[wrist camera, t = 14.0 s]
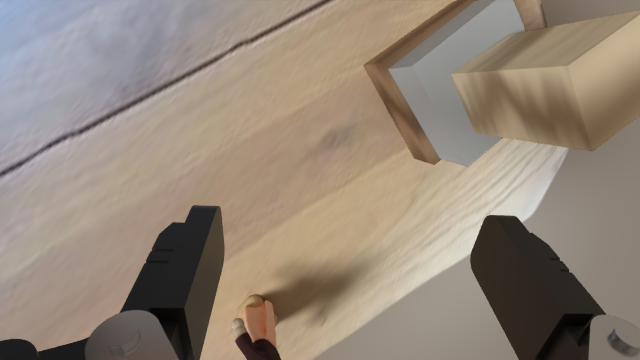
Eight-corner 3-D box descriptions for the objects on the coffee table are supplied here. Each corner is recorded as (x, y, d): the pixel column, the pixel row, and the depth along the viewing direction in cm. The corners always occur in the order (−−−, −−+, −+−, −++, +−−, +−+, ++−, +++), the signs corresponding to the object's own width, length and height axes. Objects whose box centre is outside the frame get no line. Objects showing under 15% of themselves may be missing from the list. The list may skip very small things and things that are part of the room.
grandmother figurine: (294, 317, 38) (332, 417, 26) (268, 343, 38) (295, 457, 26) (240, 274, 35) (257, 366, 24) (212, 303, 35) (214, 409, 24)
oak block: (450, 73, 29) (567, 65, 19) (508, 34, 29) (648, 8, 20) (475, 132, 31) (592, 151, 21) (529, 94, 31) (665, 96, 22)
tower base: (361, 65, 35) (380, 62, 31) (449, 3, 36) (477, -8, 32) (412, 157, 39) (434, 164, 35) (490, 98, 40) (520, 99, 36)
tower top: (388, 69, 31) (412, 66, 28) (474, 1, 32) (509, -11, 28) (440, 158, 35) (467, 166, 31) (516, 95, 36) (552, 96, 32)
